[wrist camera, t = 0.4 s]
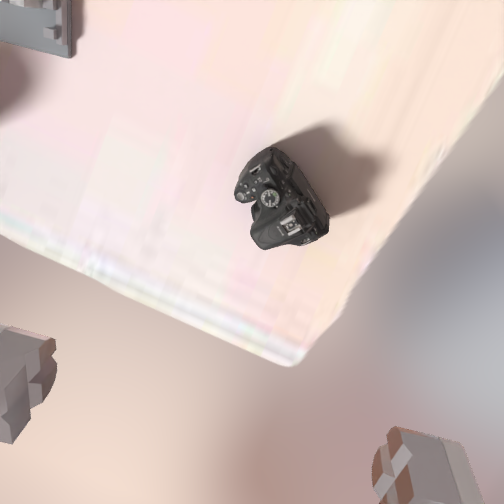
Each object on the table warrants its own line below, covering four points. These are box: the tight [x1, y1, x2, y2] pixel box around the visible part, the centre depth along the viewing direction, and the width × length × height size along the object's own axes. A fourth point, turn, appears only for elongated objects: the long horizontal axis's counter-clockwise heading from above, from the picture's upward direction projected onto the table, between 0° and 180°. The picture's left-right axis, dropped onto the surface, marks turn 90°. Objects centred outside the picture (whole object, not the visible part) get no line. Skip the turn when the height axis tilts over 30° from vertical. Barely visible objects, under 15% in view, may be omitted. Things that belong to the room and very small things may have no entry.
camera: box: [234, 147, 329, 250], centre depth 51 cm, size 13×10×10 cm
